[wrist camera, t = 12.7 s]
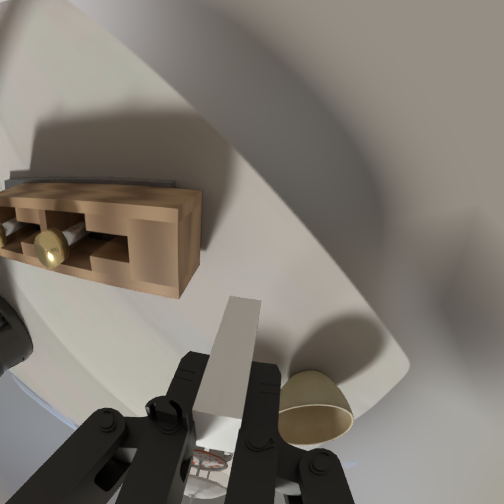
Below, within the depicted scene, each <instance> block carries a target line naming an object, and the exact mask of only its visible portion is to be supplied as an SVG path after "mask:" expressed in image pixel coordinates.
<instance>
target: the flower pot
mask: <svg viewBox="0 0 504 504" xmlns="http://www.w3.org/2000/svg"><path fill="white" fill-rule="evenodd" d="M353 423H354V417H353V414H352V411H351V408H350V406H349V404H348V402H347V400H346V398H345V396H344V395H343V393H342V392H341V390H340V389H339V388H338V387H337V386H336V384H335V383H334V382H333V381H332V380H331V379H330V378H328V377H327V376H326V375H325V374H323V373H321V372H318V371H312V370H309V371H302V372H299V373H297V374H295V375H293V376H292V377H291V378H290V379H289V380H288V381H287V382H286V384H285V385H284V386H283V387H282V389H281V390H280V405H279V420H278V430H279V433H280V436H281V437H282V438H283V440H284V441H286V442H287V443H288V444H292V445H315V444H321V443H325V442H328V441H332V440H334V439H337V438H339V437H340V436H342V435H344V434H345V433H346V432H347V431H349V429H350V428H351V427H352V425H353Z"/></svg>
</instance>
